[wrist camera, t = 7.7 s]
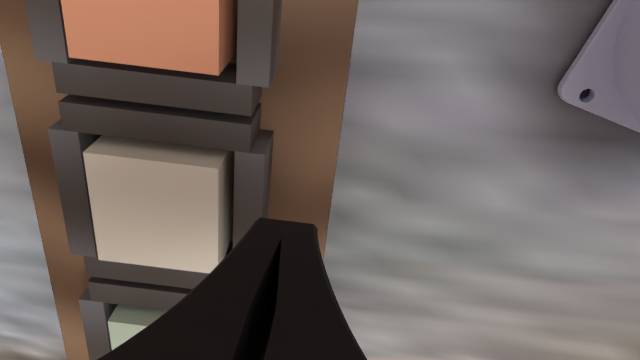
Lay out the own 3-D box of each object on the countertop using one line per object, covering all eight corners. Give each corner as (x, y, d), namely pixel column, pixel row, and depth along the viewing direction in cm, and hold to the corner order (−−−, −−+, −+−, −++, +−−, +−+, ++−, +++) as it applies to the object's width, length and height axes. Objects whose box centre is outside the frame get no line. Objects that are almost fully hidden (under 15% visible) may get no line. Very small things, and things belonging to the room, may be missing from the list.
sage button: (131, 281, 22) (107, 321, 20) (231, 293, 22) (217, 334, 20) (139, 351, 24) (118, 394, 22) (229, 362, 24) (217, 406, 22)
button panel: (-10, -214, 15) (-119, -249, 12) (379, -168, 15) (385, -189, 12) (88, 340, 27) (48, 405, 23) (307, 368, 27) (300, 436, 23)
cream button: (114, 123, 18) (82, 152, 16) (234, 137, 18) (218, 168, 16) (125, 222, 20) (98, 259, 18) (232, 236, 20) (218, 274, 18)
